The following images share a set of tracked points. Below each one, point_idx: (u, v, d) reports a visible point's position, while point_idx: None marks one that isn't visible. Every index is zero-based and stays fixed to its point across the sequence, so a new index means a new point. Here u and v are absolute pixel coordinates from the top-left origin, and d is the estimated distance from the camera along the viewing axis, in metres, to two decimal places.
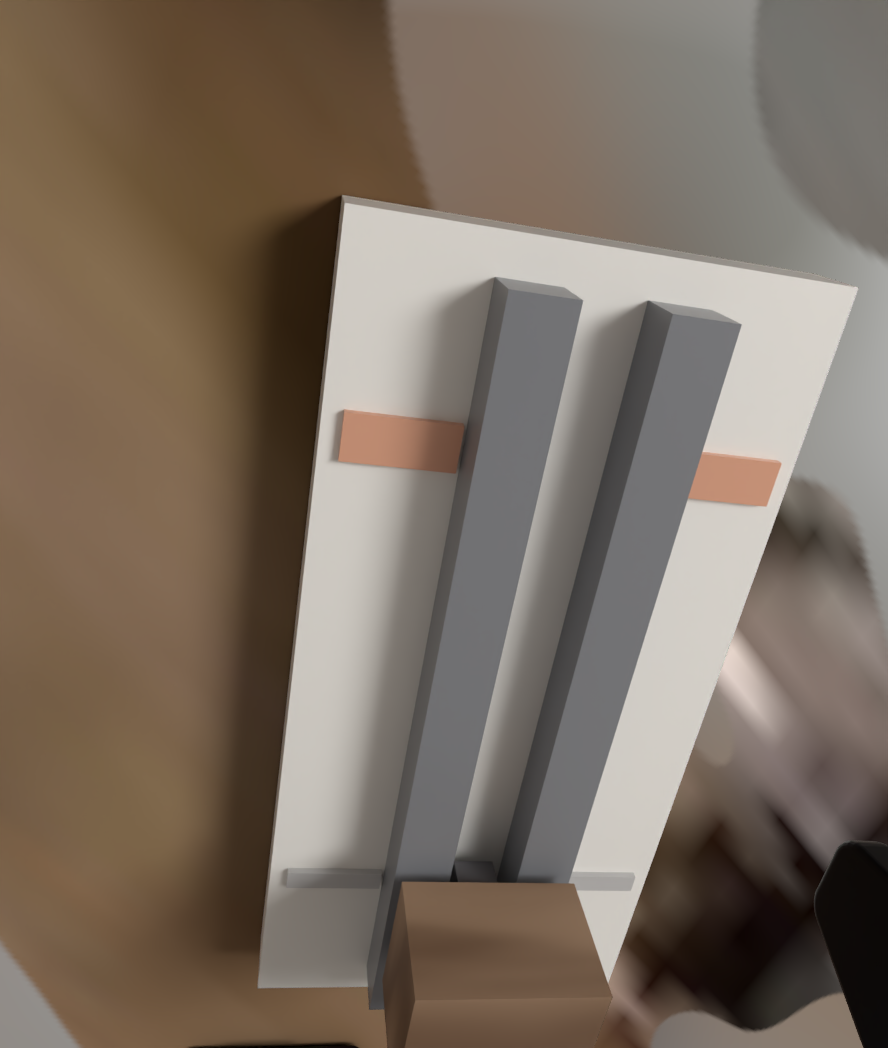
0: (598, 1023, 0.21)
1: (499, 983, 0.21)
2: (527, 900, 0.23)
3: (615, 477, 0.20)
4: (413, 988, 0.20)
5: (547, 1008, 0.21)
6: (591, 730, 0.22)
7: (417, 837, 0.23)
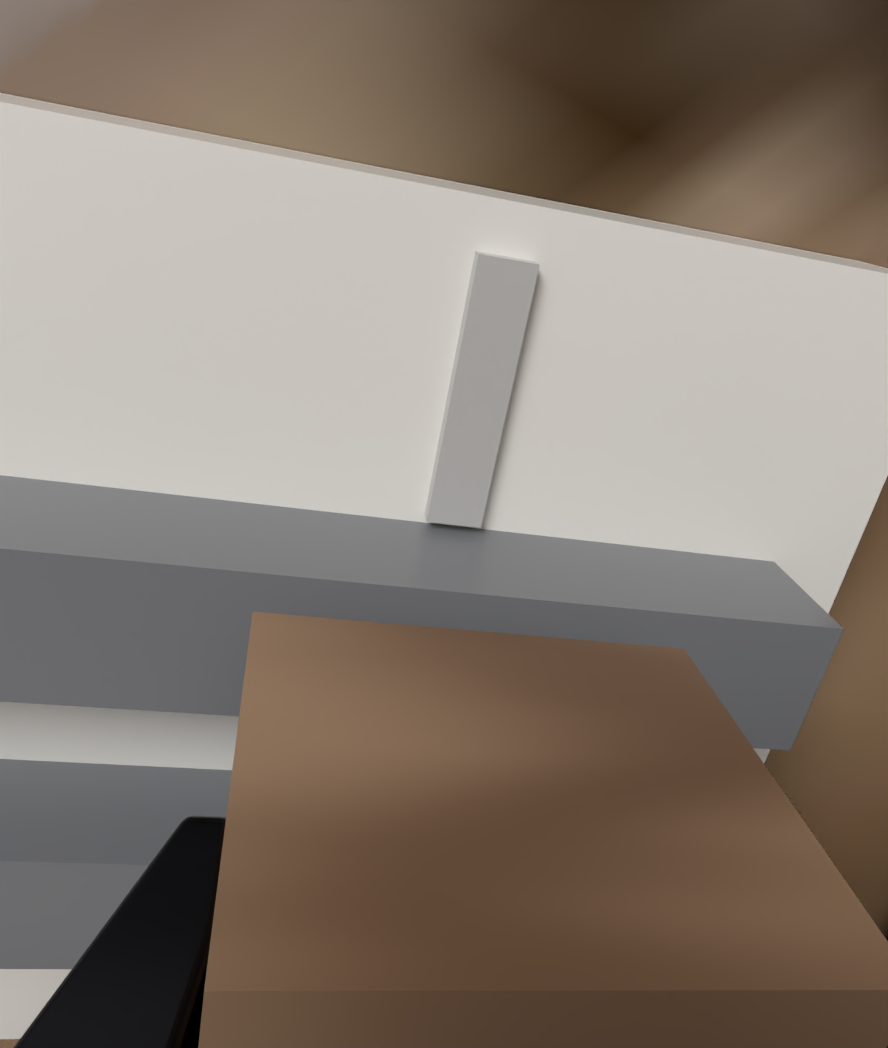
0: (402, 1008, 0.04)
1: None
2: None
3: None
4: None
5: None
6: None
7: None
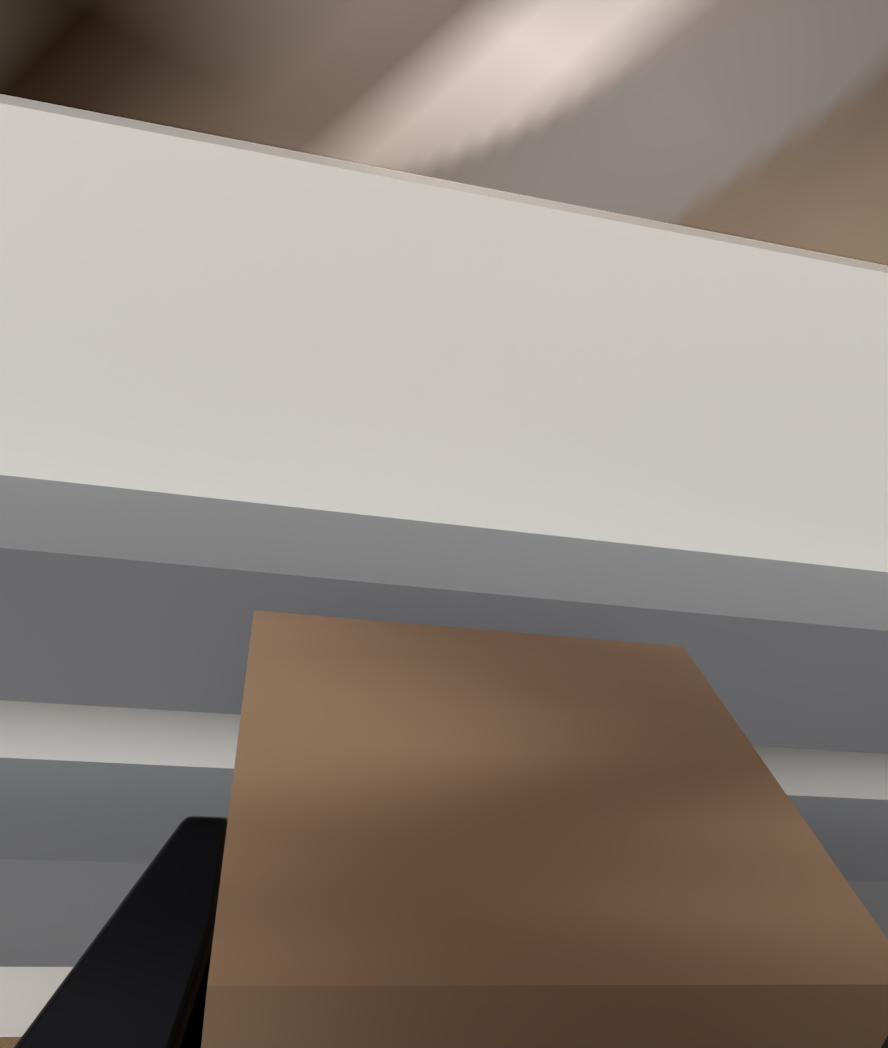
0: (405, 1001, 0.04)
1: None
2: None
3: None
4: None
5: None
6: None
7: None
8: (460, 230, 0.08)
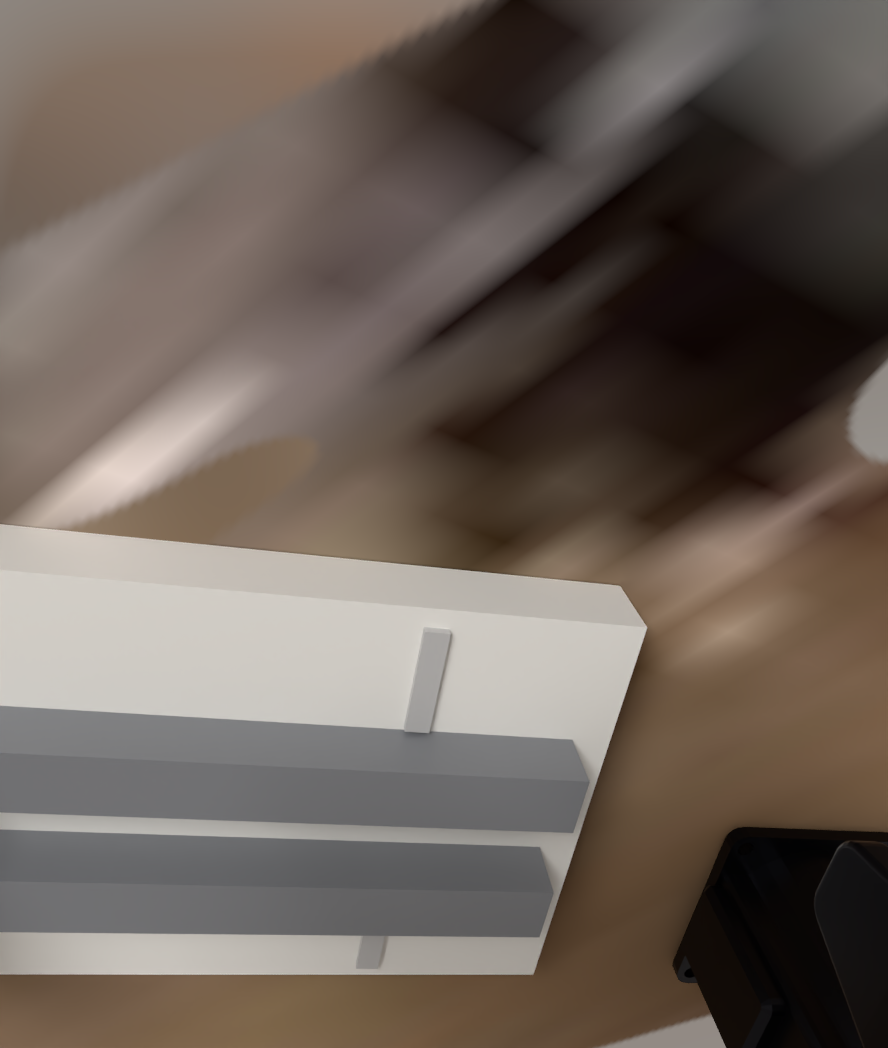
0: None
1: None
2: None
3: None
4: None
5: None
6: (89, 782, 0.18)
7: (260, 922, 0.20)
8: (51, 588, 0.17)
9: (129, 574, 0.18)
